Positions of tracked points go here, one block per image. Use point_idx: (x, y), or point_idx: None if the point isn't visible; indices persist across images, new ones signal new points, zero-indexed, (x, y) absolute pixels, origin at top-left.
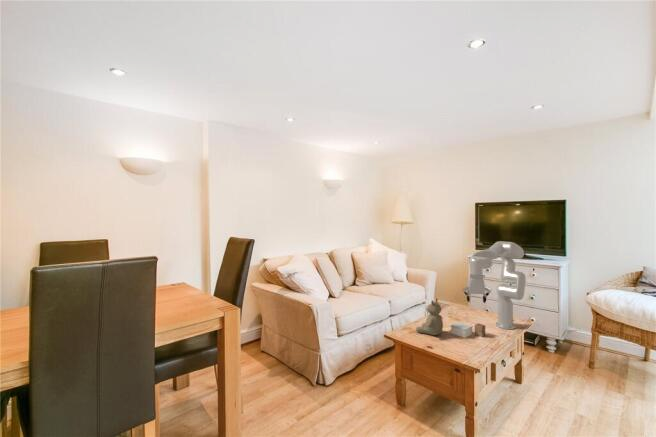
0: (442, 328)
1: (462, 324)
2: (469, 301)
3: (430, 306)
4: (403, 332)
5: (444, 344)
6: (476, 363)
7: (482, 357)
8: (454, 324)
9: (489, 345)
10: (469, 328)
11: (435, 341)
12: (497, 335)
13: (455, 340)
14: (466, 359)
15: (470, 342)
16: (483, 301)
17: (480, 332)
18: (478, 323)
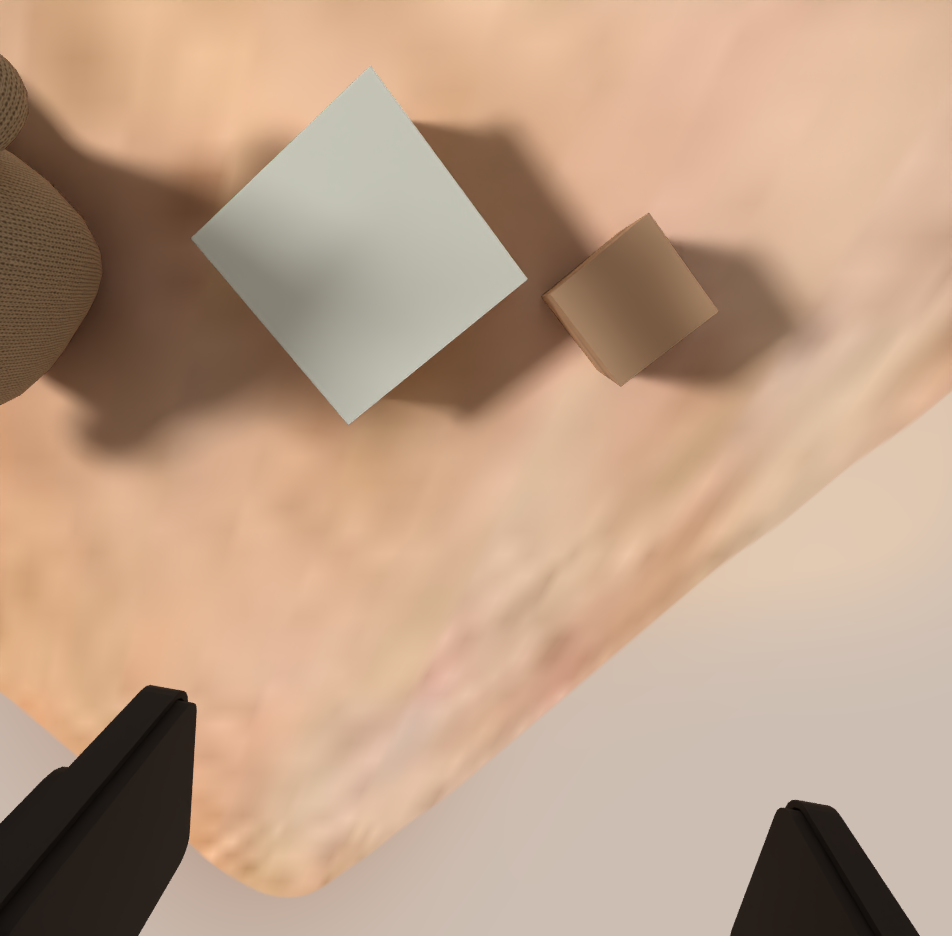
0: (90, 274)
1: (391, 199)
2: (158, 882)
3: None
4: None
5: (112, 558)
6: (300, 873)
7: (387, 795)
8: (262, 202)
9: (570, 583)
10: (450, 341)
11: (29, 489)
12: (828, 316)
13: (250, 464)
14: (242, 820)
15: (399, 513)
16: (769, 888)
17: (595, 361)
18: (649, 221)
